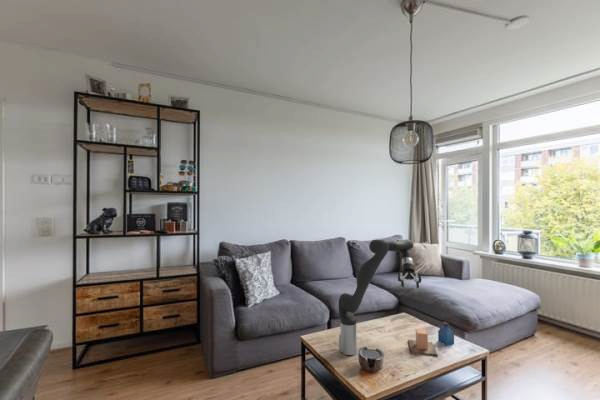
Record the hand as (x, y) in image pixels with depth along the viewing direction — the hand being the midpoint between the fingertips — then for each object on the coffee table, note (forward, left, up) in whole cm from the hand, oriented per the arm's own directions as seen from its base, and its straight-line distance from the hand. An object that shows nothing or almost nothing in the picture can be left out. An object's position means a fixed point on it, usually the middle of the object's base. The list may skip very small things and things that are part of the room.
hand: (410, 287), depth 178 cm
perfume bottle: (+19, +7, -33) cm, 39 cm away
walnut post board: (+8, -9, -33) cm, 35 cm away
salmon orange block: (+8, -9, -32) cm, 34 cm away
